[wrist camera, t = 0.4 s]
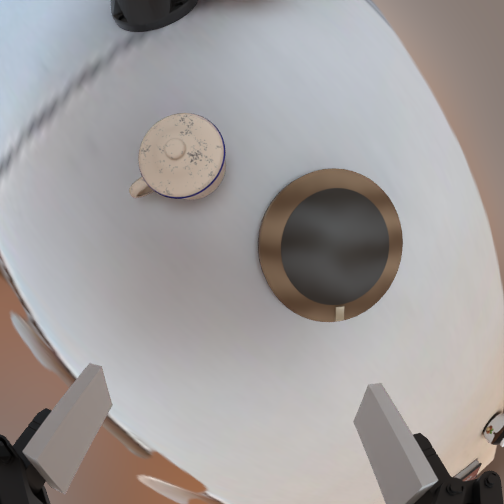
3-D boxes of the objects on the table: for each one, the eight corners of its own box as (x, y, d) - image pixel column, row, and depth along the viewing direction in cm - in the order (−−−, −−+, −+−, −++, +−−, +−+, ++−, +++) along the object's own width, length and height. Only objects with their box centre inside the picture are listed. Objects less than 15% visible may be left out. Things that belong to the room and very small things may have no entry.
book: (467, 480, 58) (472, 486, 53) (437, 501, 58) (441, 507, 53) (477, 456, 54) (483, 463, 49) (444, 482, 54) (449, 489, 49)
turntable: (252, 174, 35) (254, 170, 32) (388, 172, 36) (400, 169, 33) (263, 321, 38) (265, 331, 35) (389, 304, 39) (400, 311, 36)
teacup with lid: (207, 122, 34) (195, 86, 22) (240, 179, 35) (242, 163, 24) (131, 169, 34) (90, 153, 22) (161, 226, 35) (129, 232, 24)
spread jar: (495, 409, 48) (515, 426, 37) (505, 409, 50) (523, 424, 38) (474, 438, 50) (491, 456, 38) (486, 437, 51) (502, 453, 39)
